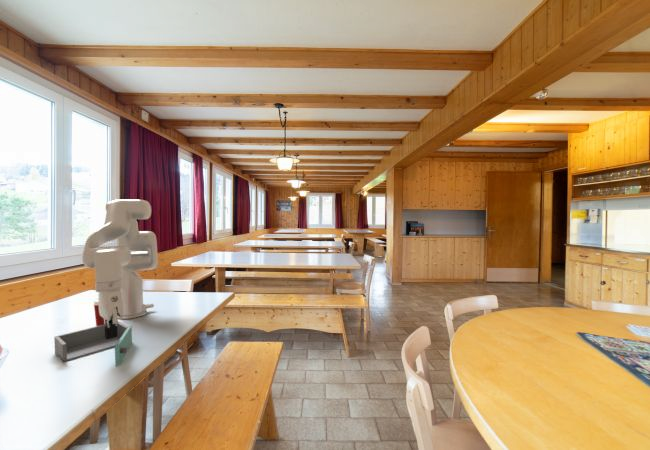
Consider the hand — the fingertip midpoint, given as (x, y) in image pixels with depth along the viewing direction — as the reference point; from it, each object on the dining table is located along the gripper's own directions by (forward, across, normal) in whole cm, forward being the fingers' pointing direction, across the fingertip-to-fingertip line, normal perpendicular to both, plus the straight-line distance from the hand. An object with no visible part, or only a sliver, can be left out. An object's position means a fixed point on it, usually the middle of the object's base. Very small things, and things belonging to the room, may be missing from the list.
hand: (111, 337), depth 106 cm
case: (+8, +15, +1) cm, 17 cm away
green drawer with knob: (+7, 0, -4) cm, 8 cm away
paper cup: (+8, +30, -7) cm, 32 cm away
